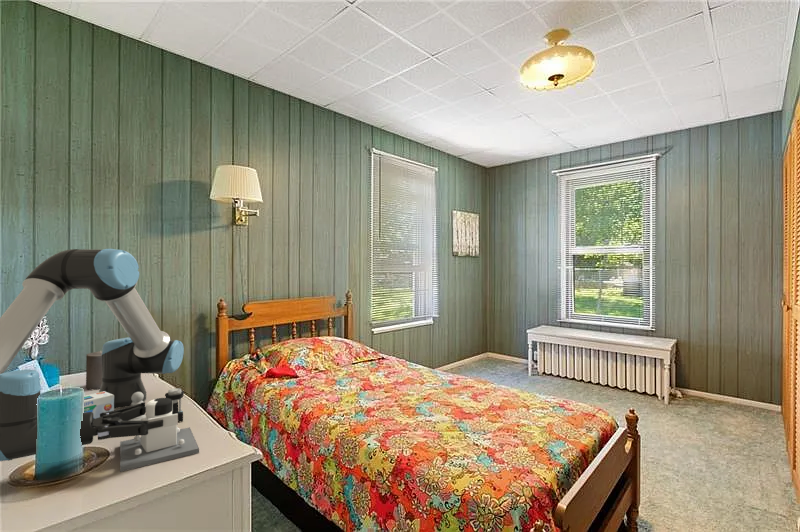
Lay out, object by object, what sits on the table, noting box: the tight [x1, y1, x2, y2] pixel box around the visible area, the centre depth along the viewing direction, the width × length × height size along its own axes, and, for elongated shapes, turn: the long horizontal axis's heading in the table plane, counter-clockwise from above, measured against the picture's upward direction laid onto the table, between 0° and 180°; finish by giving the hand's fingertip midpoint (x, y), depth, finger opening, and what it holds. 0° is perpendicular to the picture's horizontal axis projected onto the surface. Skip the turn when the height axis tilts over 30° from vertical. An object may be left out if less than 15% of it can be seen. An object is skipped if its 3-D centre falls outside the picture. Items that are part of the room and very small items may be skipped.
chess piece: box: [128, 392, 146, 421], centre depth 128 cm, size 5×5×9 cm
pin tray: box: [119, 426, 200, 473], centre depth 107 cm, size 17×17×3 cm
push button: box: [164, 387, 185, 422], centre depth 126 cm, size 7×5×10 cm
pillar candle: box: [85, 349, 102, 390], centre depth 165 cm, size 10×10×15 cm
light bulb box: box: [83, 391, 115, 437], centre depth 118 cm, size 11×7×11 cm, turn 148°
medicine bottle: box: [140, 397, 178, 453], centre depth 107 cm, size 7×7×12 cm
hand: (175, 412), depth 109 cm, fingers open, 11 cm apart
